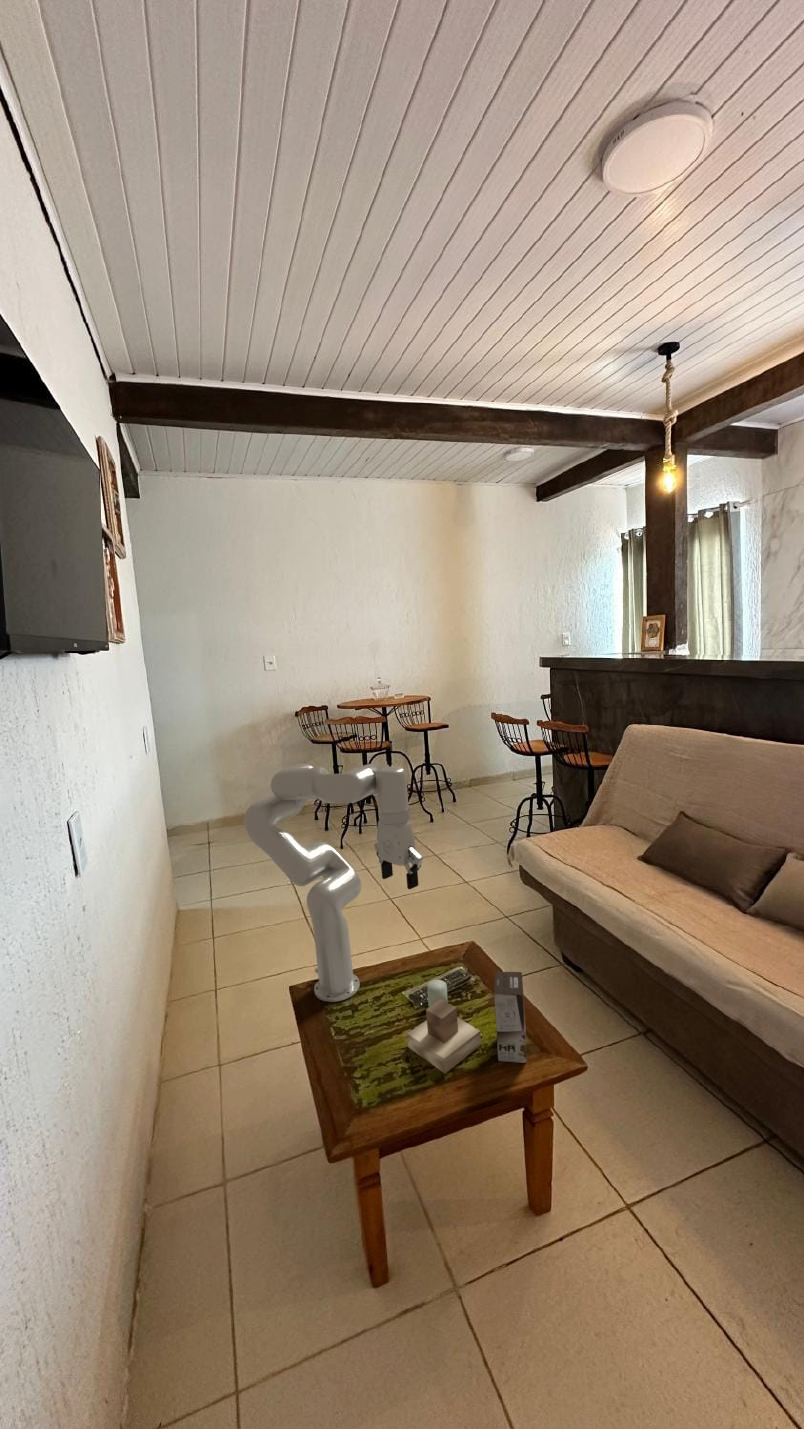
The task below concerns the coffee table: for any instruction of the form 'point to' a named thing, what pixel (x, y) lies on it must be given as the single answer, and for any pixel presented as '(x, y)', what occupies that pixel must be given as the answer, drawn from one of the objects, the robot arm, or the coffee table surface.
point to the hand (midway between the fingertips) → (400, 882)
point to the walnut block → (442, 1020)
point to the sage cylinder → (436, 991)
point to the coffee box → (510, 1016)
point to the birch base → (444, 1045)
